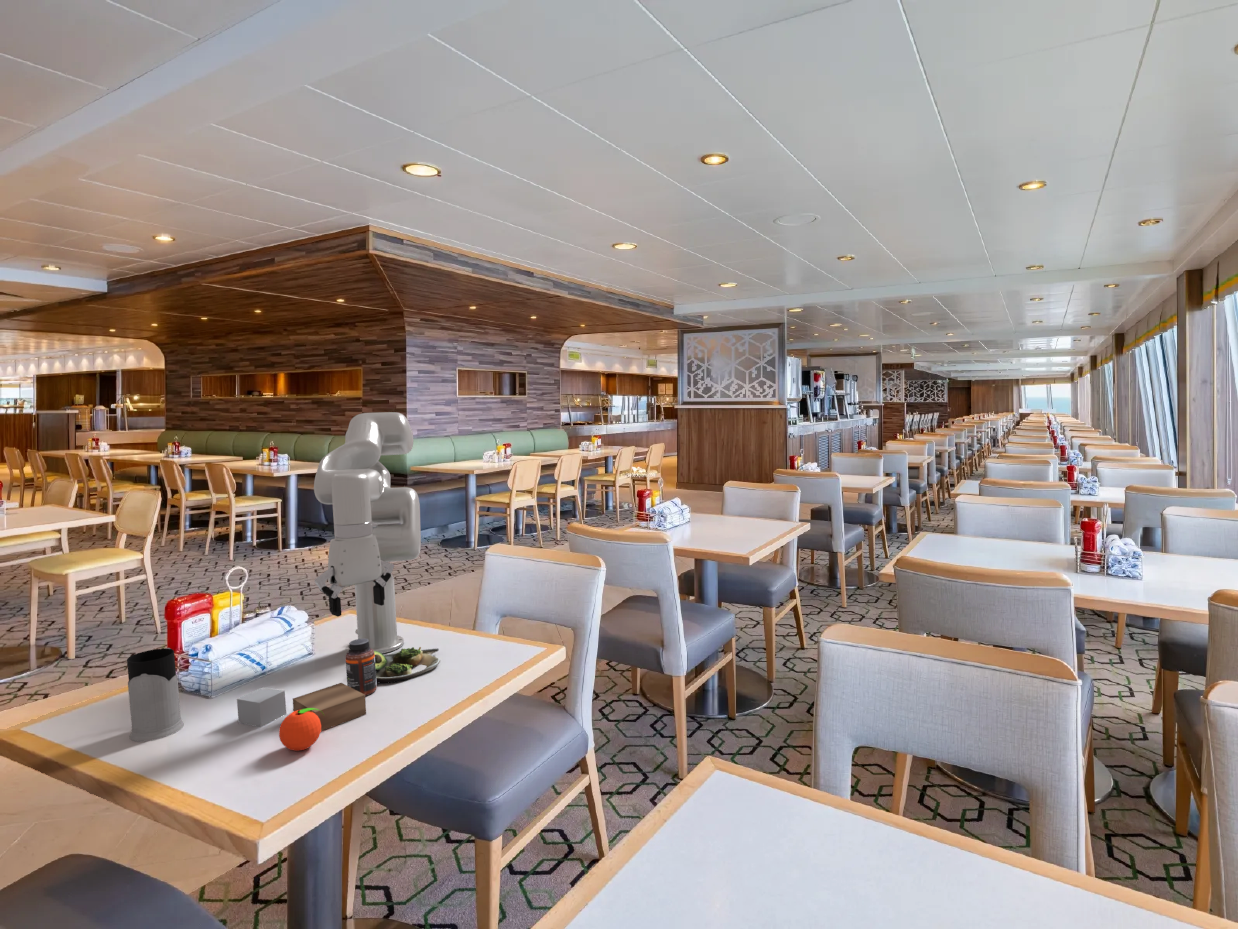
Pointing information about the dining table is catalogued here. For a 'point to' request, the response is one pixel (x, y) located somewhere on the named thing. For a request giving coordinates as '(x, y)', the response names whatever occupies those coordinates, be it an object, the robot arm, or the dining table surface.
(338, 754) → the dining table surface
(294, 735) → the clementine
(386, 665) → the salad plate
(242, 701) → the grey block
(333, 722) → the walnut block
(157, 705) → the glass holder
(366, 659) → the supplement bottle
